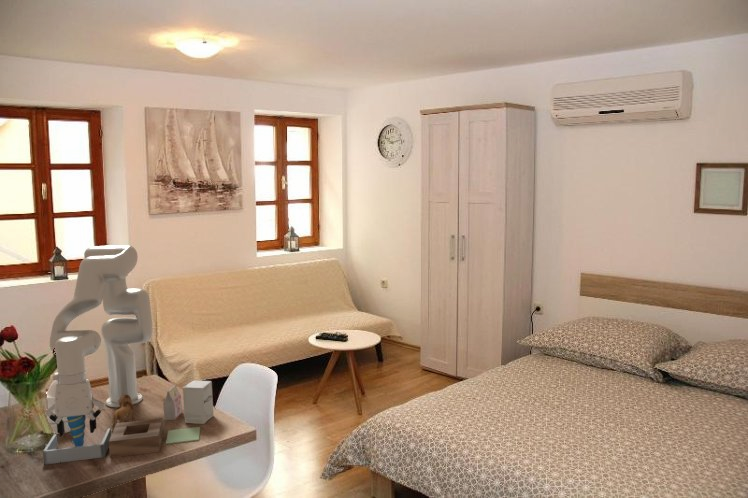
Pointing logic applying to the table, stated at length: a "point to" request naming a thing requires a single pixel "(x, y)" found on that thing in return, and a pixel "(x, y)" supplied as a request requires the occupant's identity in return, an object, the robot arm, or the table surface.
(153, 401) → the table surface
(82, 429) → the ornament
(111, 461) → the table surface
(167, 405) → the white printed carton
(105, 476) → the table surface
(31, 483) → the table surface
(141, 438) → the hole deck
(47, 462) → the grey arch frame
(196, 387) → the supplement box
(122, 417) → the lion figurine
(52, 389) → the honey pot
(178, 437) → the mat
